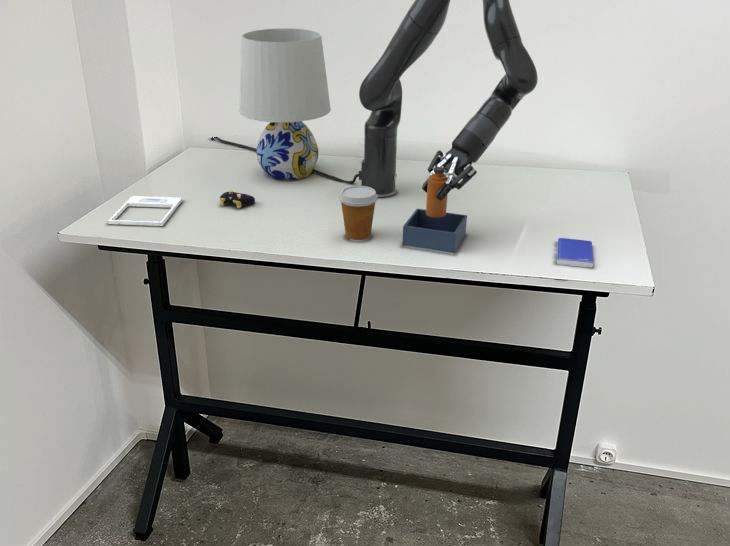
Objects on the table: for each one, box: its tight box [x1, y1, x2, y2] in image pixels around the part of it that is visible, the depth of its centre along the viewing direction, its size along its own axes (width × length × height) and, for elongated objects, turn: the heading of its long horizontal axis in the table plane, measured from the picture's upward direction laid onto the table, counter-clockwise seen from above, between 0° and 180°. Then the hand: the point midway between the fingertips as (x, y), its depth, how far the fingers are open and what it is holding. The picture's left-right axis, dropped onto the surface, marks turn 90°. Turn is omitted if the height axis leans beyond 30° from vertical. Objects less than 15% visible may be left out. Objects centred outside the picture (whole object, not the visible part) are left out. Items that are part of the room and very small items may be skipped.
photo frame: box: [107, 195, 183, 227], centre depth 195 cm, size 15×1×18 cm
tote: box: [401, 208, 468, 254], centre depth 178 cm, size 13×12×6 cm
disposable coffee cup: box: [338, 185, 379, 241], centre depth 179 cm, size 10×10×12 cm
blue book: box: [556, 237, 594, 268], centre depth 172 cm, size 2×8×12 cm
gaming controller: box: [219, 190, 256, 209], centre depth 200 cm, size 10×5×6 cm
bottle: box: [425, 166, 449, 218], centre depth 173 cm, size 5×5×12 cm
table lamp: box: [238, 27, 332, 181], centre depth 212 cm, size 27×27×40 cm
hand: (431, 194), depth 172 cm, fingers closed on bottle, 5 cm apart
